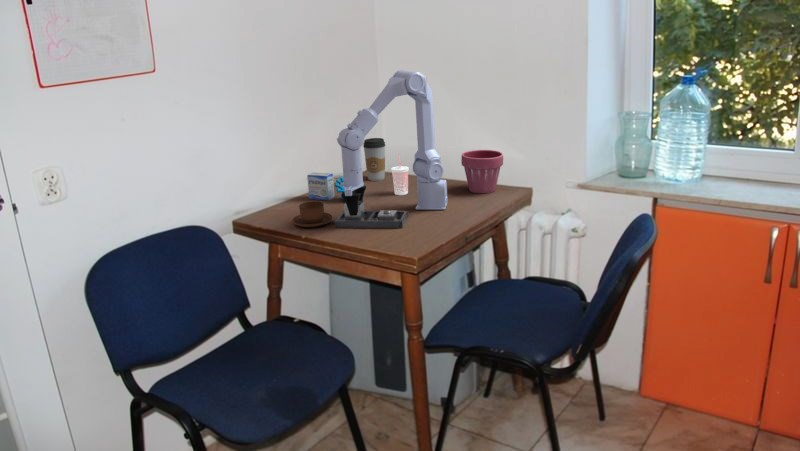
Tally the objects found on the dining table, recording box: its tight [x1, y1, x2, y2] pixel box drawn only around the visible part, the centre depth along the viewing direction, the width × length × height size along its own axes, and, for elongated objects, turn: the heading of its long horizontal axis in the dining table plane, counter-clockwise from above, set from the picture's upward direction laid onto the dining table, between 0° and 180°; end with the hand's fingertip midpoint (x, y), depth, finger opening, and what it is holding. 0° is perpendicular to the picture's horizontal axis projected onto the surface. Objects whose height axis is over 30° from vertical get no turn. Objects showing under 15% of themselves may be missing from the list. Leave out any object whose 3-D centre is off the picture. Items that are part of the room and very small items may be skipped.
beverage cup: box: [390, 153, 410, 196], centre depth 233 cm, size 6×6×14 cm
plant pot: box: [460, 149, 504, 194], centre depth 232 cm, size 14×14×13 cm
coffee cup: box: [362, 137, 386, 182], centre depth 254 cm, size 8×8×15 cm
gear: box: [334, 176, 345, 200], centre depth 231 cm, size 11×6×10 cm
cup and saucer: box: [292, 200, 333, 228], centre depth 207 cm, size 12×12×6 cm
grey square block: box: [343, 200, 366, 221], centre depth 206 cm, size 5×5×6 cm
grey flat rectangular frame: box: [334, 210, 409, 229], centre depth 206 cm, size 20×11×2 cm, turn 80°
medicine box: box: [307, 172, 335, 201], centre depth 233 cm, size 8×4×9 cm, turn 68°
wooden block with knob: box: [377, 209, 398, 221], centre depth 204 cm, size 5×5×4 cm
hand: (355, 212), depth 206 cm, fingers closed on grey square block, 5 cm apart
